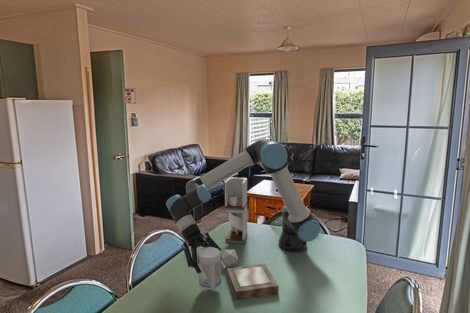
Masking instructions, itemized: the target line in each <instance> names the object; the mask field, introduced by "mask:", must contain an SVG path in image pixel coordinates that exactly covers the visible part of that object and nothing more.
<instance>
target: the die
mask: <svg viewBox="0 0 470 313" xmlns="http://www.w3.org/2000/svg"><path fill="white" fill-rule="evenodd" d="M221 258H222V262H223V263H224V265H225V267H226V268H235V267H236V266H237V263H238V261H239V257H238V254H237V251H236V250H235V249H224V251H223V252H222V255H221Z"/></svg>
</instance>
